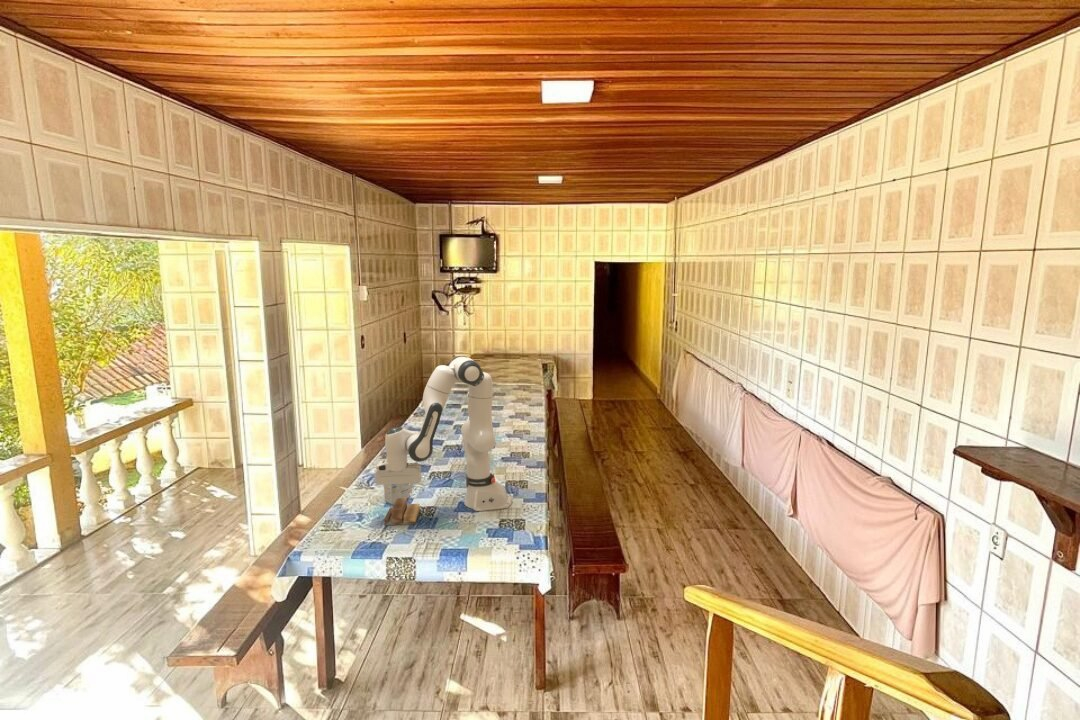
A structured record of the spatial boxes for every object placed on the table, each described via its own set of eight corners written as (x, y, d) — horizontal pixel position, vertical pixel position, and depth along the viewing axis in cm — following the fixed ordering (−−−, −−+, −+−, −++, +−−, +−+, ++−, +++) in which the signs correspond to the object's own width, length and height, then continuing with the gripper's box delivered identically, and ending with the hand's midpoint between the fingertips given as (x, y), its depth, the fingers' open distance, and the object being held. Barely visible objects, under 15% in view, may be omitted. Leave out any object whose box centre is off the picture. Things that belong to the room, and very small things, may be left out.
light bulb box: (402, 493, 276) (401, 473, 274) (410, 497, 272) (409, 476, 270) (384, 501, 268) (382, 480, 266) (392, 505, 264) (391, 483, 261)
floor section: (419, 511, 257) (419, 503, 256) (415, 524, 244) (414, 516, 244) (390, 511, 256) (390, 503, 256) (384, 525, 244) (383, 517, 243)
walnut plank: (407, 510, 256) (406, 497, 255) (402, 522, 244) (401, 509, 243) (397, 510, 256) (396, 498, 255) (392, 522, 244) (391, 510, 243)
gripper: (421, 459, 249) (423, 488, 252) (375, 461, 248) (378, 490, 251) (419, 465, 243) (421, 494, 246) (372, 467, 242) (375, 496, 245)
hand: (399, 492), depth 248 cm, fingers open, 8 cm apart
